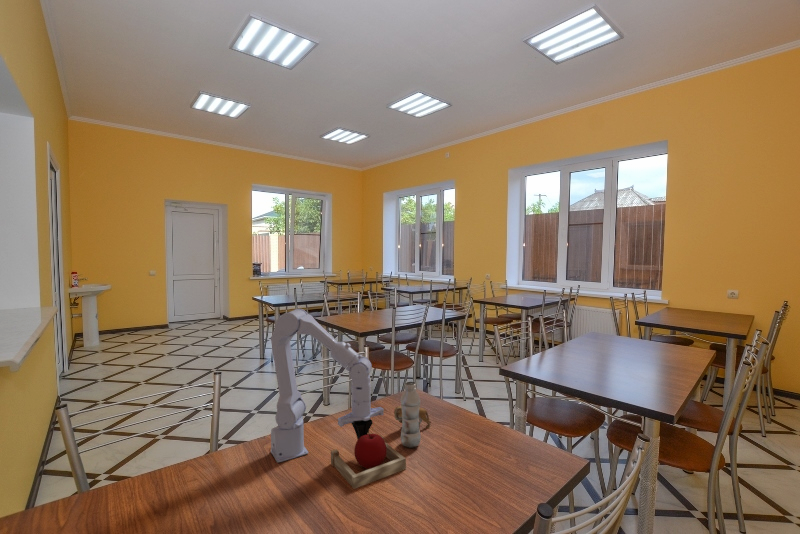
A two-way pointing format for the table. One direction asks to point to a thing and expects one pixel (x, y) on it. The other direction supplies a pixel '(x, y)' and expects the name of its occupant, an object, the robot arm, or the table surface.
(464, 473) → the table surface
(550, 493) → the table surface
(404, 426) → the plastic bottle
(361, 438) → the apple
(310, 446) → the table surface
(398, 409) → the lion figurine
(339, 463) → the corral
